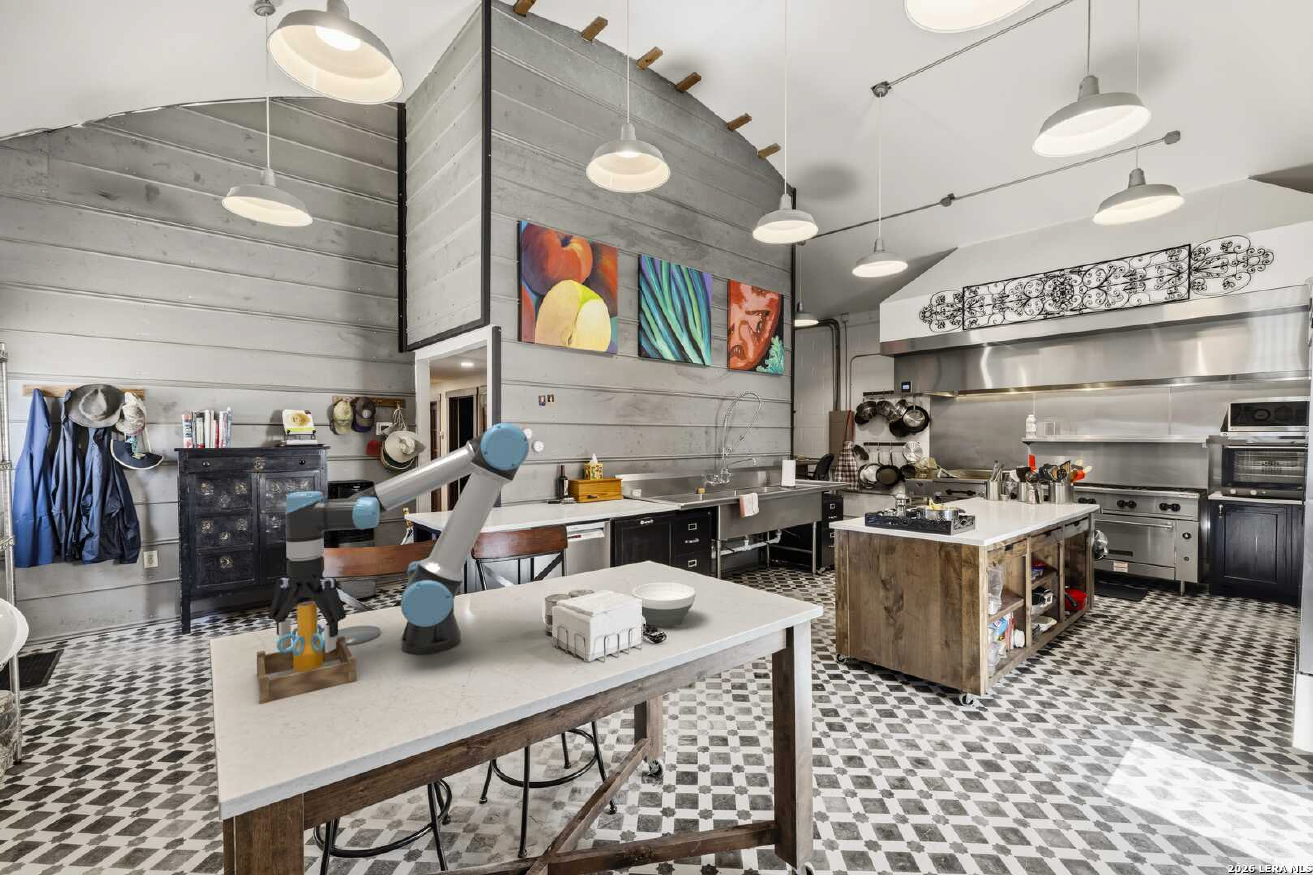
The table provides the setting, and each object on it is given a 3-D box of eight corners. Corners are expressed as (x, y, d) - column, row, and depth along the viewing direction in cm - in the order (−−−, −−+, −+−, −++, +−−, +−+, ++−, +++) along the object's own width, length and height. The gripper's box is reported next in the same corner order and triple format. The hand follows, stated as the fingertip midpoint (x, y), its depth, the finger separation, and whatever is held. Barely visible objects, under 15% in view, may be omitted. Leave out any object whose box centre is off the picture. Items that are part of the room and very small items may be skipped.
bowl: (656, 607, 185) (656, 579, 185) (707, 619, 174) (707, 588, 174) (619, 624, 170) (619, 592, 170) (672, 637, 158) (672, 604, 158)
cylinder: (299, 657, 138) (297, 597, 138) (343, 655, 139) (342, 595, 139) (269, 679, 126) (267, 613, 126) (317, 676, 127) (316, 611, 127)
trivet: (390, 629, 165) (390, 626, 165) (359, 647, 151) (359, 644, 151) (347, 627, 167) (347, 624, 167) (312, 644, 153) (312, 641, 153)
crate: (343, 655, 145) (343, 635, 145) (356, 680, 130) (356, 657, 130) (256, 674, 134) (256, 651, 134) (259, 703, 119) (259, 678, 119)
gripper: (361, 554, 134) (363, 645, 134) (274, 552, 137) (276, 641, 138) (340, 561, 127) (342, 657, 127) (247, 559, 130) (249, 653, 130)
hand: (307, 649), depth 132 cm, fingers closed on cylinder, 11 cm apart
